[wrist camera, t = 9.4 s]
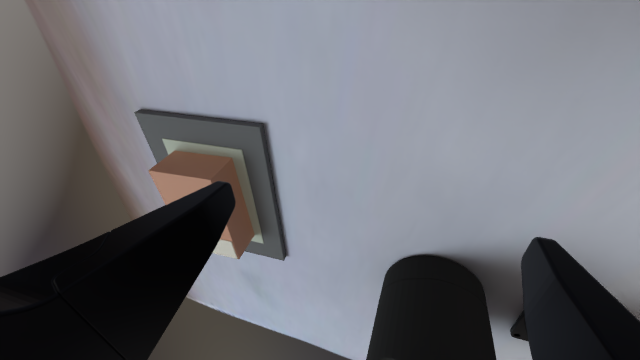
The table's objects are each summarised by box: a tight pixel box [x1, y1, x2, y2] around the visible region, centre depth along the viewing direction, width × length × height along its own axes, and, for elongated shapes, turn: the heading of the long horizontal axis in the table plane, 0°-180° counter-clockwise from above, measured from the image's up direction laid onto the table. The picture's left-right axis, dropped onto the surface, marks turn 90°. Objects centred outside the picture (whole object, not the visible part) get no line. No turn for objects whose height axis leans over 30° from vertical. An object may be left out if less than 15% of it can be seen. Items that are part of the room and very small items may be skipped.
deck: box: [149, 151, 255, 259], centre depth 28 cm, size 10×6×3 cm, turn 4°
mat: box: [135, 110, 286, 261], centre depth 29 cm, size 16×12×1 cm
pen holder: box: [366, 256, 496, 360], centre depth 25 cm, size 9×9×10 cm
